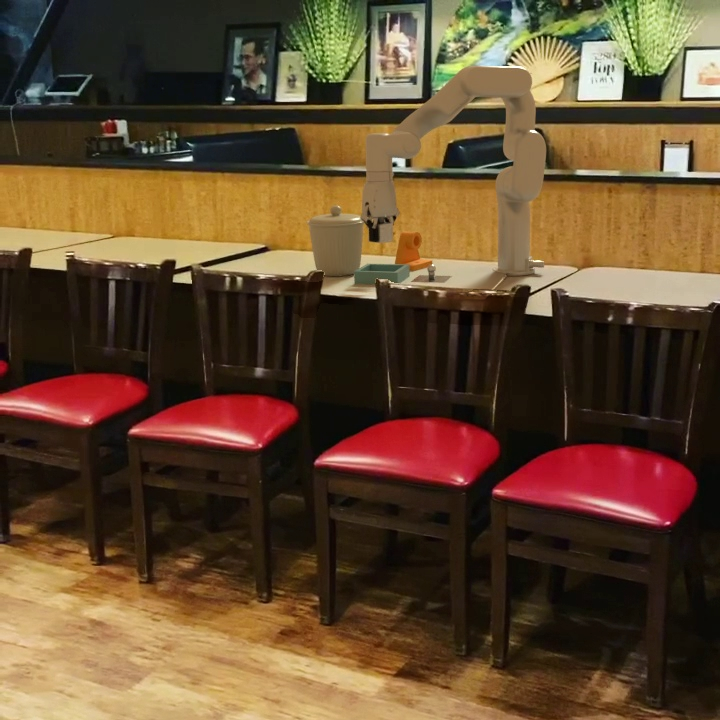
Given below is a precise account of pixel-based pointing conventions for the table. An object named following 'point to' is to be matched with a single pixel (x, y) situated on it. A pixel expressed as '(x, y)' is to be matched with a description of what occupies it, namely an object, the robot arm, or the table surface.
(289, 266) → the table surface
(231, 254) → the table surface
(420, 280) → the stud mount
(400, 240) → the bracket
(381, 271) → the bin
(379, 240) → the strut socket
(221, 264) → the table surface
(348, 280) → the table surface
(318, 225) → the canister
